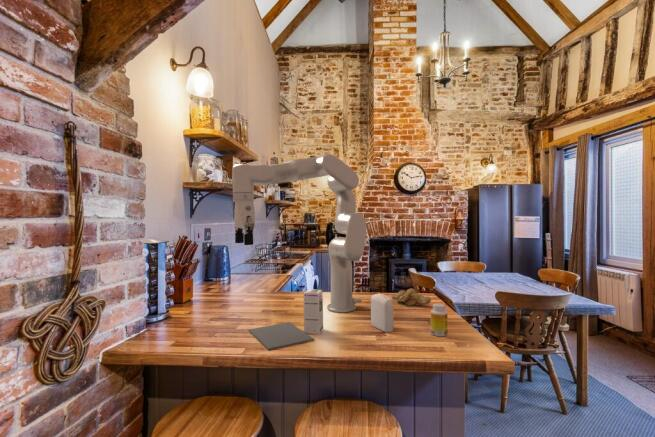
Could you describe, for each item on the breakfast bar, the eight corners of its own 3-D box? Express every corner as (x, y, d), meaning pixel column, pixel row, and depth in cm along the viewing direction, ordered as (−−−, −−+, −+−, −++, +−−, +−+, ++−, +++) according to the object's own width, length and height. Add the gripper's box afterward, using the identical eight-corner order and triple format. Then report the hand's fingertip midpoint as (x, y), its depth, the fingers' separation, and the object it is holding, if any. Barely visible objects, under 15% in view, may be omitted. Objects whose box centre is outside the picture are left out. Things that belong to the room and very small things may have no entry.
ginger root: (389, 296, 167) (393, 280, 167) (420, 304, 166) (424, 288, 166) (393, 306, 151) (398, 289, 151) (428, 315, 151) (433, 297, 150)
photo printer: (369, 325, 128) (369, 292, 128) (378, 323, 130) (378, 291, 130) (385, 333, 119) (385, 298, 119) (395, 331, 121) (395, 297, 121)
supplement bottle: (448, 337, 115) (448, 307, 115) (430, 336, 116) (430, 306, 116) (446, 332, 120) (446, 303, 120) (430, 330, 122) (430, 302, 122)
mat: (289, 323, 130) (289, 322, 130) (314, 340, 113) (314, 338, 113) (248, 331, 122) (248, 329, 122) (268, 350, 105) (268, 348, 105)
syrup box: (319, 334, 118) (319, 293, 118) (303, 333, 120) (303, 292, 119) (323, 329, 124) (323, 289, 124) (307, 328, 125) (307, 288, 125)
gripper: (262, 197, 122) (262, 245, 122) (245, 199, 136) (245, 241, 136) (241, 196, 118) (242, 246, 118) (226, 198, 132) (226, 242, 132)
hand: (244, 243), depth 127 cm, fingers open, 9 cm apart
